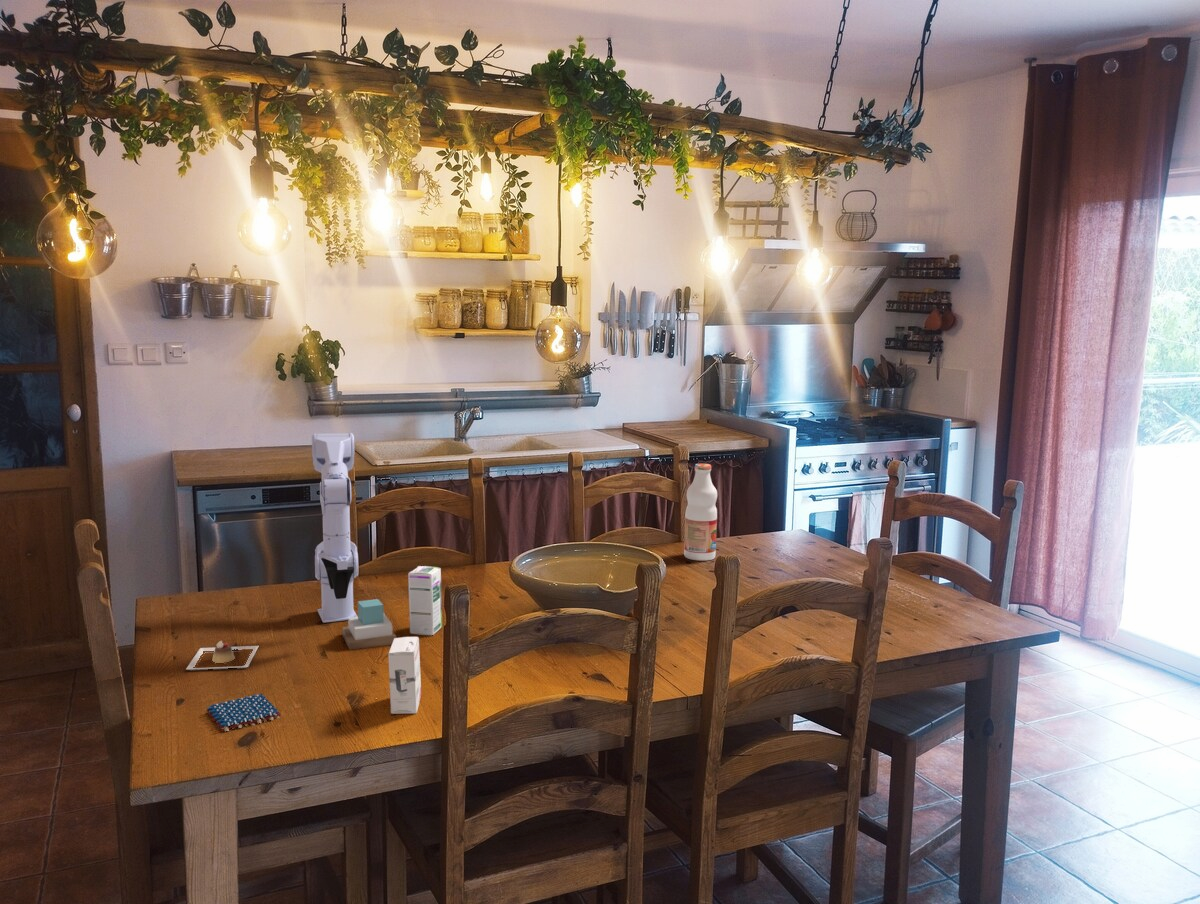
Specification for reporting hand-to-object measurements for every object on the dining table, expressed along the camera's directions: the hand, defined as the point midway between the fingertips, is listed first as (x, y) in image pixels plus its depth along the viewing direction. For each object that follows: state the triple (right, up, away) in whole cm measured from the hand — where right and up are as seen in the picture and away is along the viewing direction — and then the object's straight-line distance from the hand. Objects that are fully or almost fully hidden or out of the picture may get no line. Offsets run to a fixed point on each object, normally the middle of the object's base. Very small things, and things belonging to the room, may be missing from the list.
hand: (338, 593), depth 211 cm
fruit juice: (+87, 0, +75) cm, 115 cm away
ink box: (+21, -16, -32) cm, 42 cm away
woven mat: (-7, -17, -38) cm, 42 cm away
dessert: (-21, -13, -12) cm, 27 cm away
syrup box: (+18, -10, +8) cm, 22 cm away
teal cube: (+7, -6, +1) cm, 9 cm away
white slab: (+7, -9, +1) cm, 11 cm away
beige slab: (+6, -11, +2) cm, 13 cm away
